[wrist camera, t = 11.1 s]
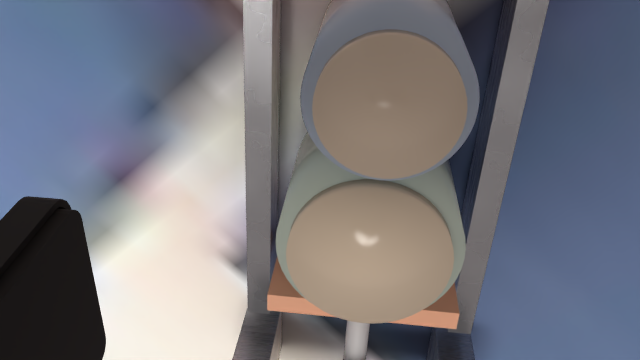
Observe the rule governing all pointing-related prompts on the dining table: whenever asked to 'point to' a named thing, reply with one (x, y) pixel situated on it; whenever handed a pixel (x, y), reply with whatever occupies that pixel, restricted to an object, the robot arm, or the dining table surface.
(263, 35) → the lane
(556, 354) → the dining table surface
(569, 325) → the dining table surface
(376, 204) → the jar resting
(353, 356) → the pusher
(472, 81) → the jar
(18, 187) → the dining table surface
